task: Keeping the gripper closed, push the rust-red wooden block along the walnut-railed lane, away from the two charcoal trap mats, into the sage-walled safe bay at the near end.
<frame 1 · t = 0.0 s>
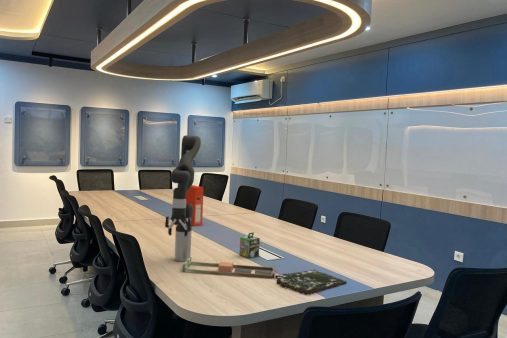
hand: (177, 235, 220), 17 cm above the table, tool pointing down, fingers open, 8 cm apart
lane: (229, 271, 217), on the table
block: (225, 271, 218), resting in lane
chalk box: (249, 255, 250), on the table
file binder: (193, 224, 336), on the table
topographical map: (306, 283, 206), on the table
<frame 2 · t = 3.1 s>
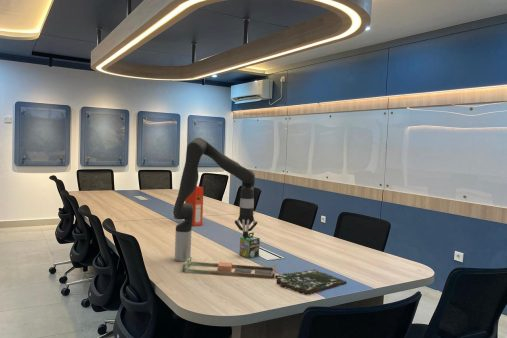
hand: (245, 238, 216), 19 cm above the table, tool pointing down, fingers closed
nothing on the table moved.
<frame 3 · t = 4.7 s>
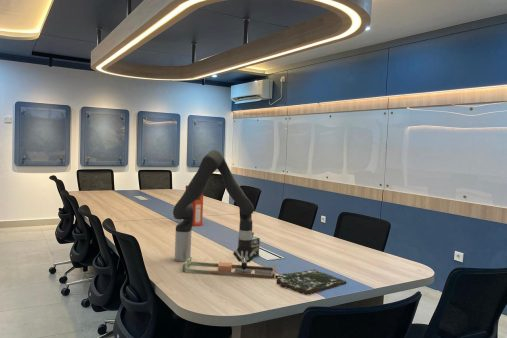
hand: (243, 269, 217), 2 cm above the table, tool pointing down, fingers closed
nothing on the table moved.
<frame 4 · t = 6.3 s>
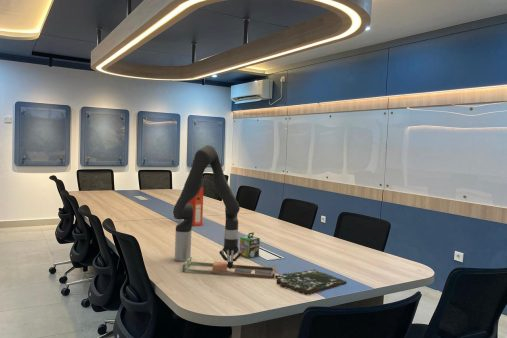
hand: (230, 268, 218), 1 cm above the table, tool pointing down, fingers closed
block: (219, 270, 218), resting in lane
everything else where it was.
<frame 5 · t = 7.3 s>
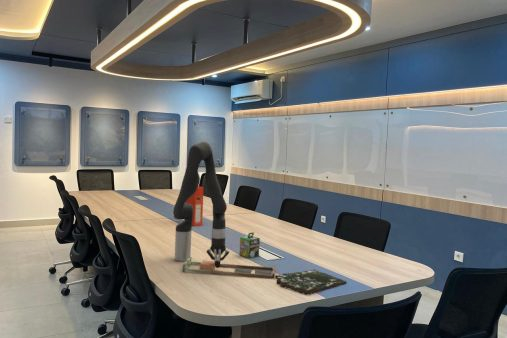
hand: (217, 267, 218), 1 cm above the table, tool pointing down, fingers closed
block: (207, 269, 219), resting in lane, touching gripper
everything else where it was.
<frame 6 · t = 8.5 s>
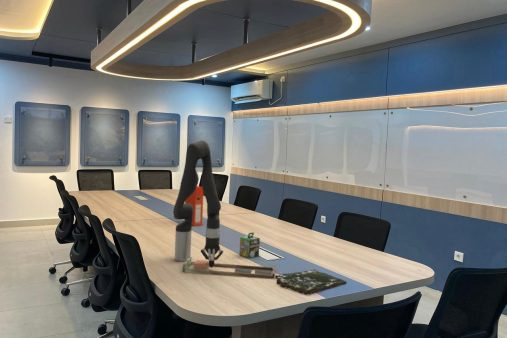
hand: (211, 267, 218), 2 cm above the table, tool pointing down, fingers closed
block: (201, 269, 219), resting in lane
everything else where it was.
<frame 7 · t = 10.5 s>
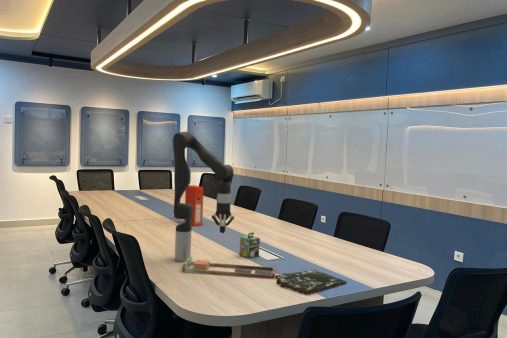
hand: (222, 232, 217), 21 cm above the table, tool pointing down, fingers closed
nothing on the table moved.
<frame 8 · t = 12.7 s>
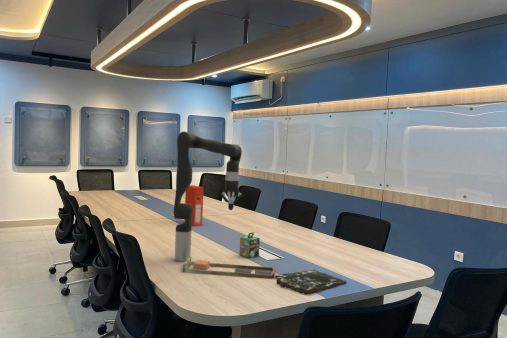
hand: (230, 209, 226), 32 cm above the table, tool pointing down, fingers closed
nothing on the table moved.
at the end: block inside the target area (0.5 cm from its centre), resting in lane; block tilted 0° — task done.
